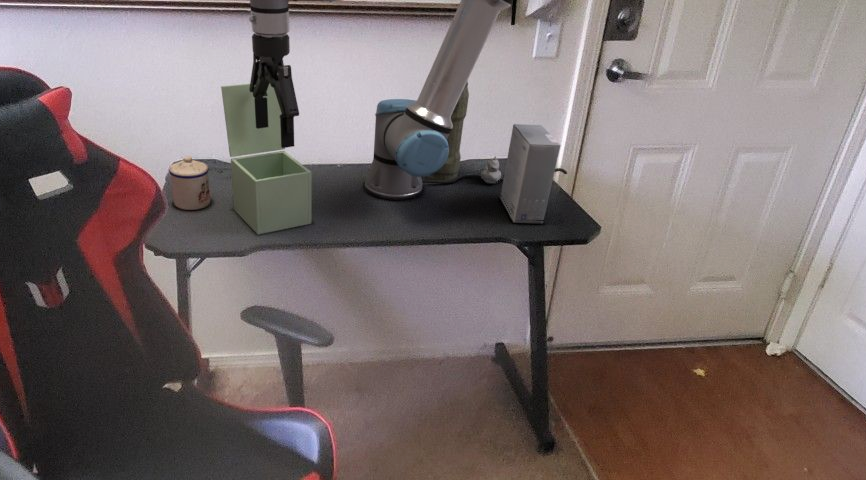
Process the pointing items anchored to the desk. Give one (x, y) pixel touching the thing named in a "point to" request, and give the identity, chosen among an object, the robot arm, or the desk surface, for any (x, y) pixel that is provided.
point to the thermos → (454, 140)
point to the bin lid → (250, 121)
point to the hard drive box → (529, 172)
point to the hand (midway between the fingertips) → (274, 136)
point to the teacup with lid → (190, 184)
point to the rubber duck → (491, 171)
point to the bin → (271, 191)
